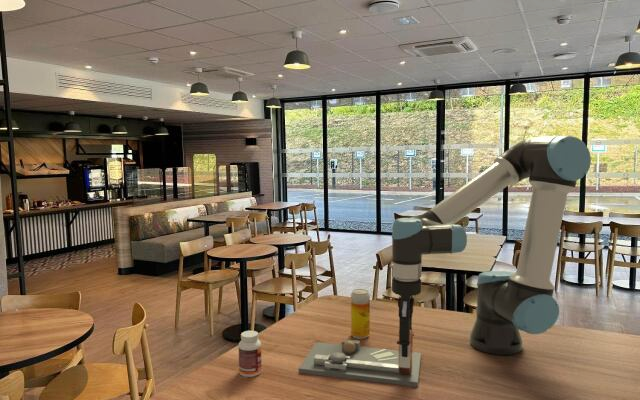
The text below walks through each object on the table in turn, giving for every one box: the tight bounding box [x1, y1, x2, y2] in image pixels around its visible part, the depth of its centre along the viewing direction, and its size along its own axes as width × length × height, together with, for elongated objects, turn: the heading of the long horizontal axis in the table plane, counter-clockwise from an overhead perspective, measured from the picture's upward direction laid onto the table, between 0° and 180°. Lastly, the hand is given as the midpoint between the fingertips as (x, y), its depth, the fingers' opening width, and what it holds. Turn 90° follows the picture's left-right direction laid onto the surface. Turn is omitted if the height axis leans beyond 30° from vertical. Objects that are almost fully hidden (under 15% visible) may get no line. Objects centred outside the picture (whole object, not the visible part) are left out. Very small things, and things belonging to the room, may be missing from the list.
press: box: [298, 338, 422, 388], centre depth 133 cm, size 32×18×5 cm, turn 75°
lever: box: [314, 329, 414, 375], centre depth 128 cm, size 27×6×12 cm, turn 75°
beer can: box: [350, 288, 371, 340], centre depth 153 cm, size 6×6×15 cm
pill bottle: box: [238, 330, 263, 378], centre depth 129 cm, size 6×6×11 cm
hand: (405, 363), depth 125 cm, fingers closed on lever, 4 cm apart
